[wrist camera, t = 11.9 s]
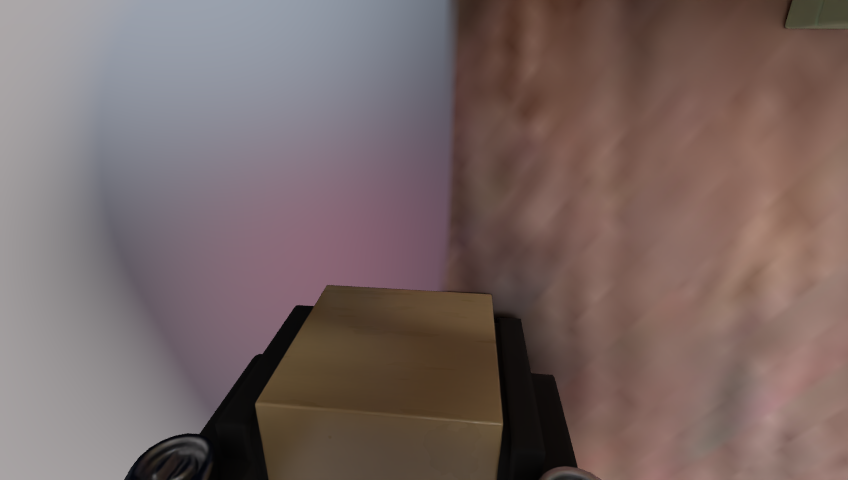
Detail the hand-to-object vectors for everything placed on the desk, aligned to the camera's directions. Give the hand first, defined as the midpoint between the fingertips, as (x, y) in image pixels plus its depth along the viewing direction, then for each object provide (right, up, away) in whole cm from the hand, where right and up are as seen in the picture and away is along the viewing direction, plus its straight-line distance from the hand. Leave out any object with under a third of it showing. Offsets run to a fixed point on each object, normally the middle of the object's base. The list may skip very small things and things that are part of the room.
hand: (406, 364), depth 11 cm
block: (0, 0, 0) cm, 0 cm away
